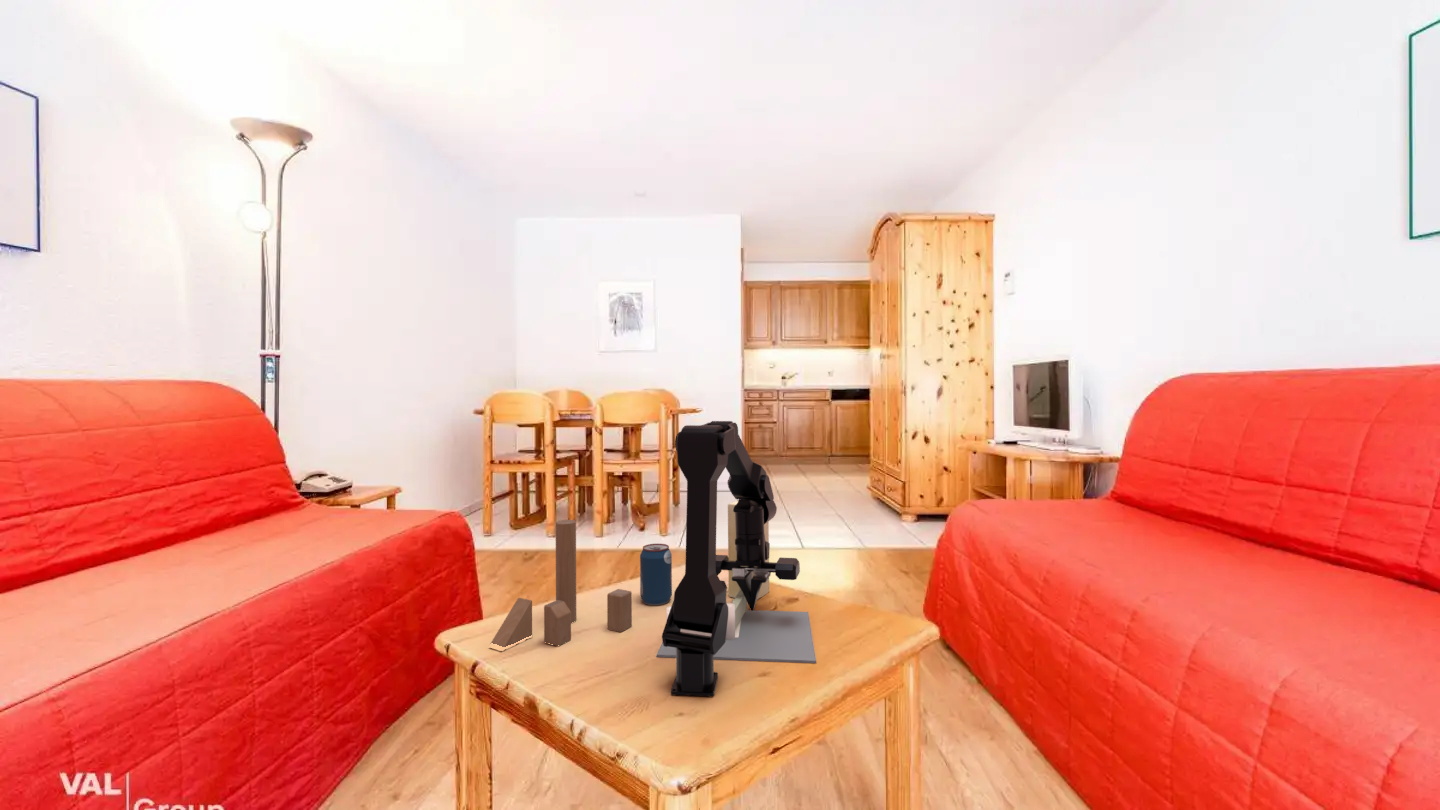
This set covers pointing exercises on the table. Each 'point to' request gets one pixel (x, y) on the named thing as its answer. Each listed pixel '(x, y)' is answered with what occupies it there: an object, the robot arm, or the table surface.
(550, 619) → the wooden blocks
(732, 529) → the tall beige block
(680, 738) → the table surface
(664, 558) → the soda can
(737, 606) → the swinging fence panel
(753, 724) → the table surface
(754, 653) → the card
